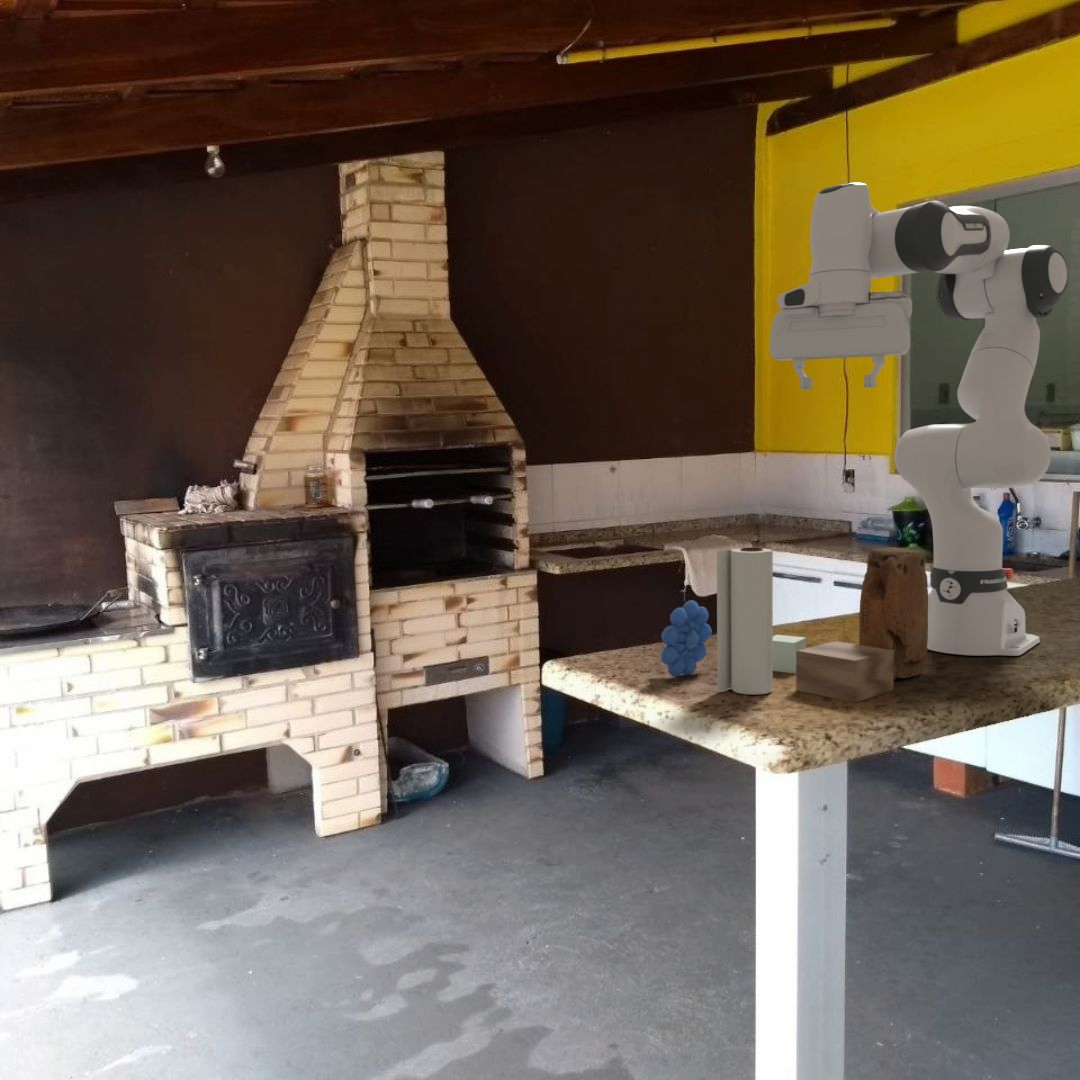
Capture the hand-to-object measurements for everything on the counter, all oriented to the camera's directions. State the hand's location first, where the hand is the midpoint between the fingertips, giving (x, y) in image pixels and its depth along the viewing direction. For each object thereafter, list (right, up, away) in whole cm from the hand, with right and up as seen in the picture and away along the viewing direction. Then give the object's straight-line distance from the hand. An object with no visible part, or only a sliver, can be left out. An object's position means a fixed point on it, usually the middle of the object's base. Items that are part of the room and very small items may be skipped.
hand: (837, 388), depth 157 cm
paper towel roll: (-14, -45, -1) cm, 47 cm away
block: (+10, -44, +7) cm, 46 cm away
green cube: (-5, -44, +14) cm, 46 cm away
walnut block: (0, -45, -2) cm, 45 cm away
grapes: (-22, -45, +11) cm, 51 cm away
